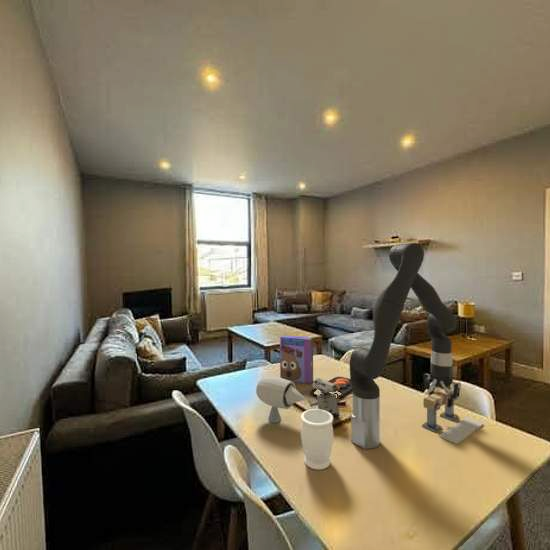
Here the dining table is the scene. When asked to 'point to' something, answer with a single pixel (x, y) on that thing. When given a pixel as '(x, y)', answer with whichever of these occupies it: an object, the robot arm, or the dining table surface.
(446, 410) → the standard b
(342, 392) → the sushi plate
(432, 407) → the rail
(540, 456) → the dining table surface
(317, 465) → the jar
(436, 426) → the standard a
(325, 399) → the figurine
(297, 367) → the cereal box
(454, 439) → the felt pad
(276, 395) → the jet engine
